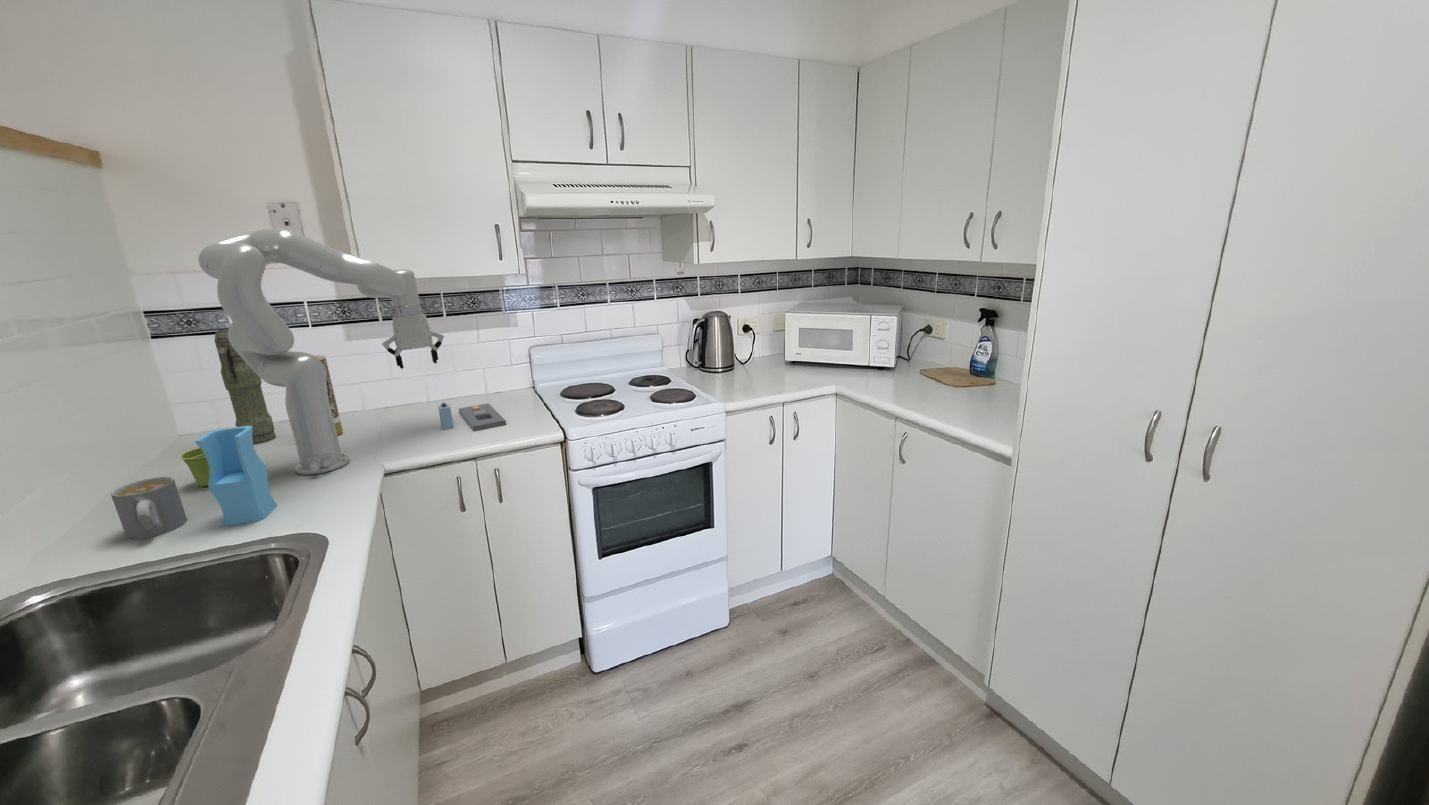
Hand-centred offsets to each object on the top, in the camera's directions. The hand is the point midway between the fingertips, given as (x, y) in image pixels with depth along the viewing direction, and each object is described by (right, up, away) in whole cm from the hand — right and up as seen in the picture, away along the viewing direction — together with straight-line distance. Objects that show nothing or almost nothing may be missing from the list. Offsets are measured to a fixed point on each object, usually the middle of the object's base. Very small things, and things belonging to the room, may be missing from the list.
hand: (418, 365), depth 184 cm
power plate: (+15, -17, +12) cm, 26 cm away
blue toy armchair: (-12, -38, -52) cm, 65 cm away
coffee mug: (-28, -40, -57) cm, 75 cm away
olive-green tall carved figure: (-49, -24, -1) cm, 55 cm away
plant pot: (-37, -33, -33) cm, 59 cm away
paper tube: (-28, -22, +1) cm, 36 cm away
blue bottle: (+7, -20, +4) cm, 21 cm away
